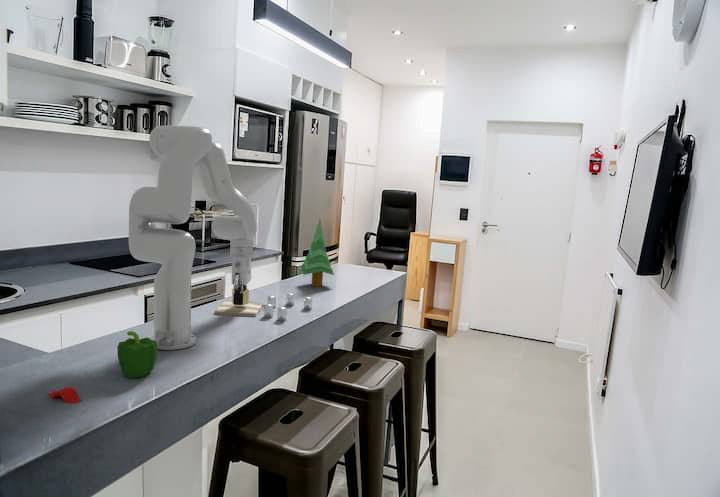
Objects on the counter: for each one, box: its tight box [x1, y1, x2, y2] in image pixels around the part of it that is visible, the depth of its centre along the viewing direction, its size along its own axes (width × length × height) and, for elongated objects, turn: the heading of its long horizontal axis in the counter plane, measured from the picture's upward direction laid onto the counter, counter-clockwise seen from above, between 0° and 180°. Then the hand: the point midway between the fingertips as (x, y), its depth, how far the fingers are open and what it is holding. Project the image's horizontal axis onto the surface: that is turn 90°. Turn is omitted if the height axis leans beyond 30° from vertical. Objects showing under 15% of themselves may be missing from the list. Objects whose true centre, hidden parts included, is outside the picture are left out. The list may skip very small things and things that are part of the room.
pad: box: [213, 300, 265, 317], centre depth 176 cm, size 14×14×1 cm
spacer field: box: [263, 292, 313, 322], centre depth 177 cm, size 23×16×4 cm
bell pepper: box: [117, 330, 158, 379], centre depth 117 cm, size 8×8×10 cm
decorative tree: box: [300, 218, 335, 288], centre depth 220 cm, size 14×16×30 cm
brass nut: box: [231, 287, 250, 305], centre depth 176 cm, size 5×6×5 cm
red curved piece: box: [48, 386, 82, 404], centre depth 104 cm, size 8×3×2 cm, turn 68°
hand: (240, 302), depth 176 cm, fingers closed on brass nut, 5 cm apart
